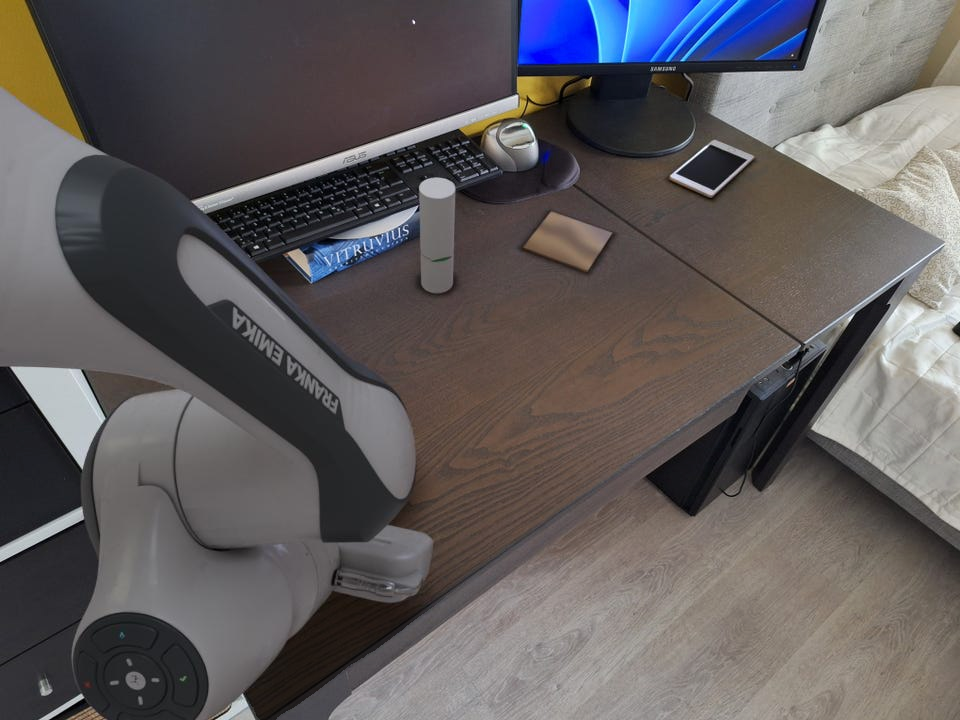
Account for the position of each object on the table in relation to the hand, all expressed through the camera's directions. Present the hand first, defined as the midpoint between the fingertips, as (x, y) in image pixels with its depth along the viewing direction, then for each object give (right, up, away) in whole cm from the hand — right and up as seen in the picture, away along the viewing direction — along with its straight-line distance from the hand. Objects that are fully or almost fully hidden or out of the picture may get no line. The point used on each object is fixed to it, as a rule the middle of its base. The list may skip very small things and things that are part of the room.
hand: (336, 514), depth 62 cm
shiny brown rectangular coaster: (+26, +31, +36) cm, 55 cm away
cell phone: (+52, +46, +51) cm, 86 cm away
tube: (+7, +25, +29) cm, 39 cm away
